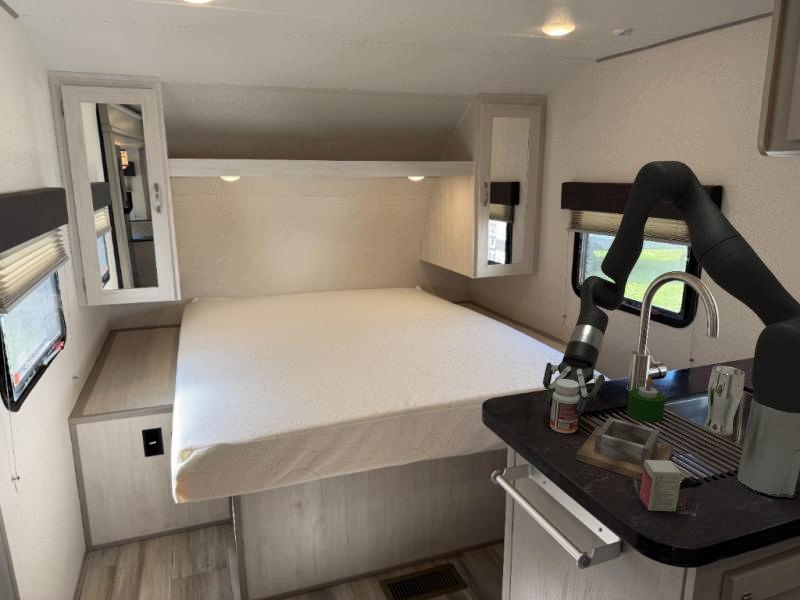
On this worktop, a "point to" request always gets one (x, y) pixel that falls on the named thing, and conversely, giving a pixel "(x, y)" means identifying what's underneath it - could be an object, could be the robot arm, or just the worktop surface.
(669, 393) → the worktop surface
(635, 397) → the candle
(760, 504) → the worktop surface
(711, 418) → the beer glass
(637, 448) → the holder
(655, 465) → the small box
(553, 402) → the pill bottle
